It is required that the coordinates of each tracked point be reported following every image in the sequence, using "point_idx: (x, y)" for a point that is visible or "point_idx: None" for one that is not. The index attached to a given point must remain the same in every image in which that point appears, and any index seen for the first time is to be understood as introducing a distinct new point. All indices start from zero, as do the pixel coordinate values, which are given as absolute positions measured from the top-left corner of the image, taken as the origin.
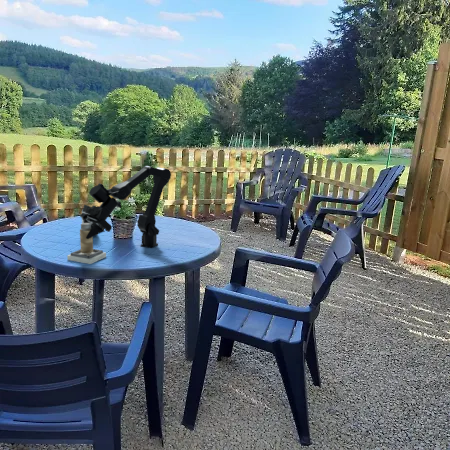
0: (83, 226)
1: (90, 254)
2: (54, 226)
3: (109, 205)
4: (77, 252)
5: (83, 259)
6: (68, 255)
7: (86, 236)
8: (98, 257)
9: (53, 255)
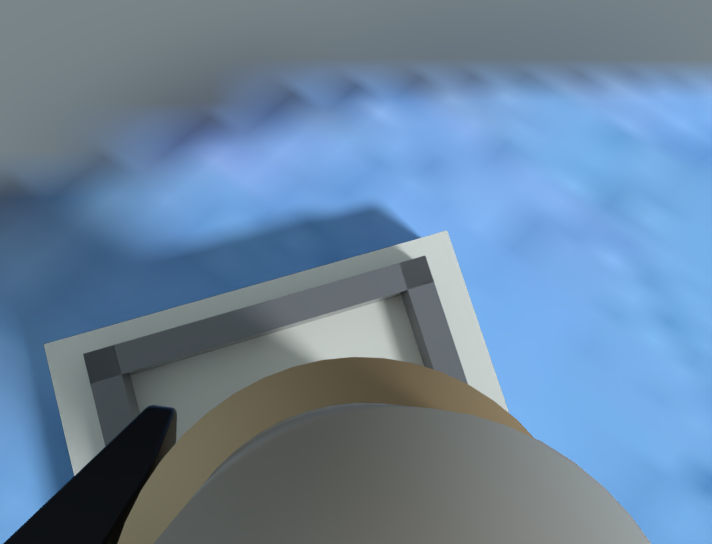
0: (282, 437)
1: None
2: None
3: None
4: None
5: (176, 310)
6: (434, 239)
7: (156, 427)
8: None
9: (689, 228)
